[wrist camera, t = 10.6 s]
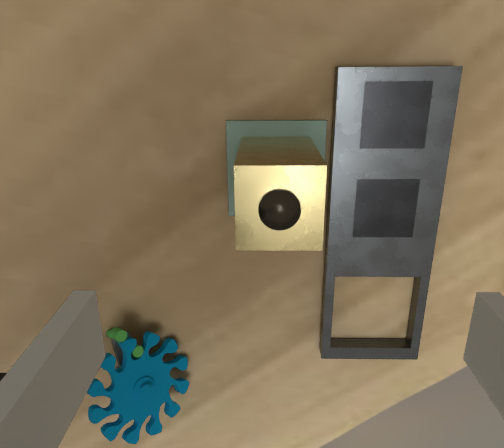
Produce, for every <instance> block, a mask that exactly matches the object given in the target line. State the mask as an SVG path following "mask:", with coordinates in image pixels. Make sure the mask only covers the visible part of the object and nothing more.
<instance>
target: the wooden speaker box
mask: <svg viewBox="0 0 504 448" xmlns="http://www.w3.org/2000/svg"><path fill="white" fill-rule="evenodd" d="M326 176H327V164H326V163H325V161H324V159H323V158H322V156H321V154H320V152H319V151H318V149H317V147H316V146H315V144H314V142H313V140H312V139H311V137H242V138H241V142H240V145H239V149H238V152H237V156H236V159H235V163H234V197H235V239H236V250H263V251H322V250H323V231H324V213H325V194H326Z"/></svg>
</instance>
